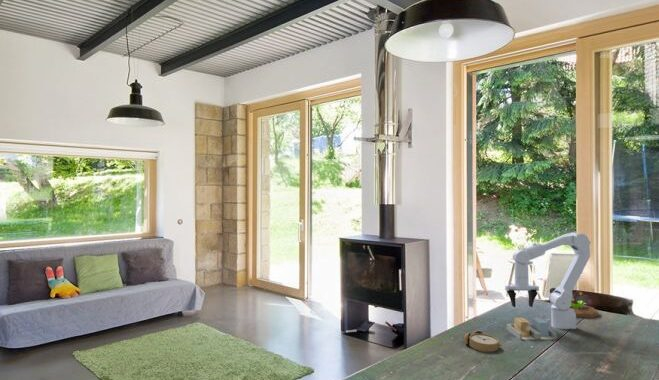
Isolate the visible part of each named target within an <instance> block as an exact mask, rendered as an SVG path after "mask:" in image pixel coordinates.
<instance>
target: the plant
mask: <svg viewBox="0 0 659 380" xmlns="http://www.w3.org/2000/svg"><path fill="white" fill-rule="evenodd" d="M577 294H579V295H580V296H582V295H583V292H581V291H579V290H578V291H575V293H574V294H573V297H572V299H571V306H570V309H573V310H574V311H575V314H576V319H579V318H580V319H594V318H597V317H598V316H599V313H598V311H599V310H598V309H595V307H592V306H588V305H586V304H587V303H586V302H584V301H583V300H581V299H580V300H577Z"/></svg>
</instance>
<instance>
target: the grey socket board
mask: <svg viewBox="0 0 659 380" xmlns="http://www.w3.org/2000/svg"><path fill="white" fill-rule="evenodd" d="M529 328H530V337H522V334H521V333H520V332H519V331H517V330H516V329H515V328H514V323H506V330H507V331H509V332H510V333H511V334H512V335H514V336H515V337H516V338H518V339H519V340H557V339H558V337H557V332H554V331H553V330H552V329H550V328H549V337H541V333H539V332H538V331H536V330H535V329H533V323H529Z"/></svg>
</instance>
